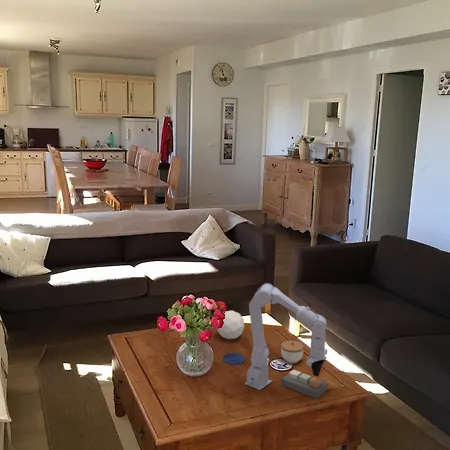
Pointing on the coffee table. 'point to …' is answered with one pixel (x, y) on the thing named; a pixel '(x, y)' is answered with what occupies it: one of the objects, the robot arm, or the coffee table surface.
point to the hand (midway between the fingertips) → (315, 375)
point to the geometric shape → (232, 325)
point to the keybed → (304, 387)
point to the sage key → (304, 378)
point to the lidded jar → (292, 351)
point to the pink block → (315, 382)
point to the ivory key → (294, 374)
